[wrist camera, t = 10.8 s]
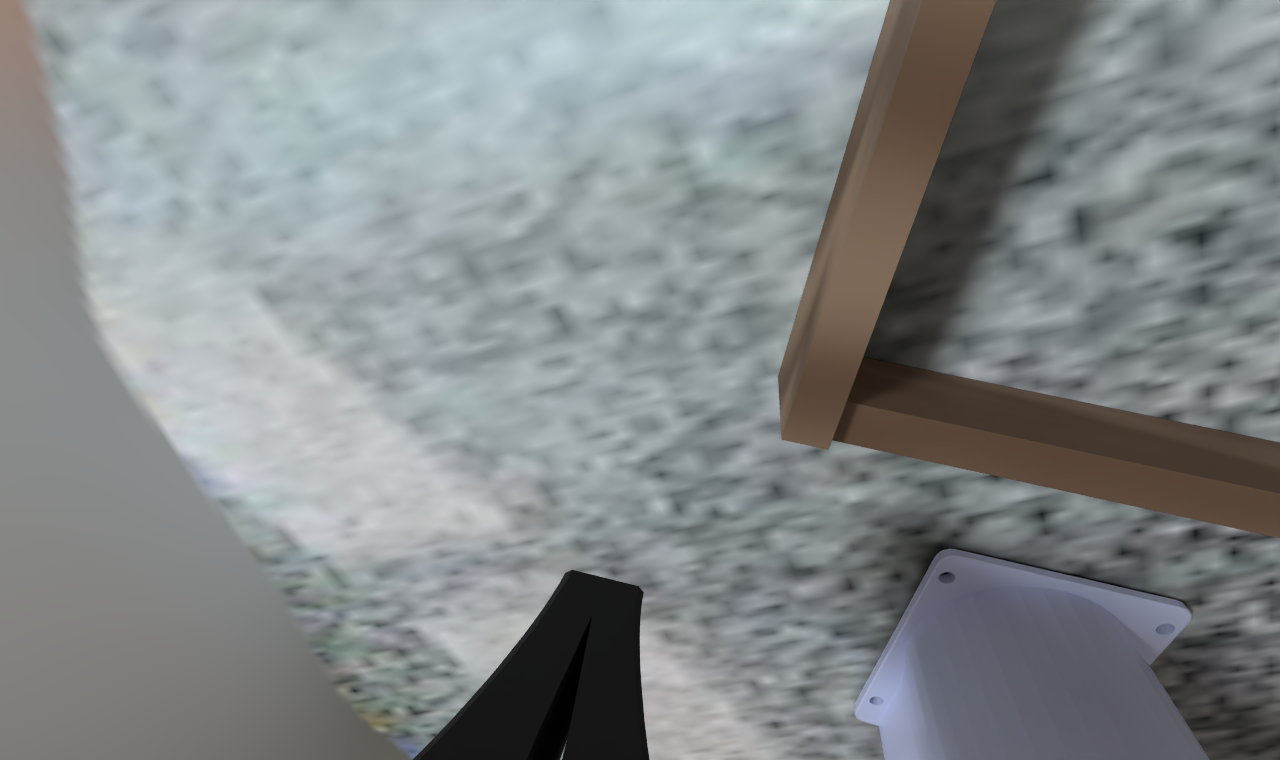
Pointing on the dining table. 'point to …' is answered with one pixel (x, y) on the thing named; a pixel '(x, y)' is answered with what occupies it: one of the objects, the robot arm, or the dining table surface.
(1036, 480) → the shelf lane
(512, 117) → the dining table surface
